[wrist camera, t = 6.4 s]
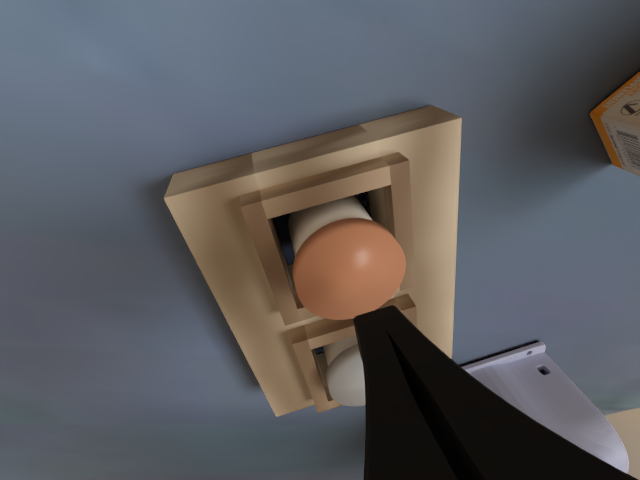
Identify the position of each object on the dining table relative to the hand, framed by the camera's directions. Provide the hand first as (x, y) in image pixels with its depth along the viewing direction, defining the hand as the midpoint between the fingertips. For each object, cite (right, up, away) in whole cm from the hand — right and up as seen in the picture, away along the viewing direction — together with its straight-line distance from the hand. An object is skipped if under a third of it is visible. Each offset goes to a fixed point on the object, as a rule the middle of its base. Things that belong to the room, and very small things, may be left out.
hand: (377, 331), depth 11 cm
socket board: (-1, +1, +9) cm, 9 cm away
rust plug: (-2, +4, +6) cm, 7 cm away
